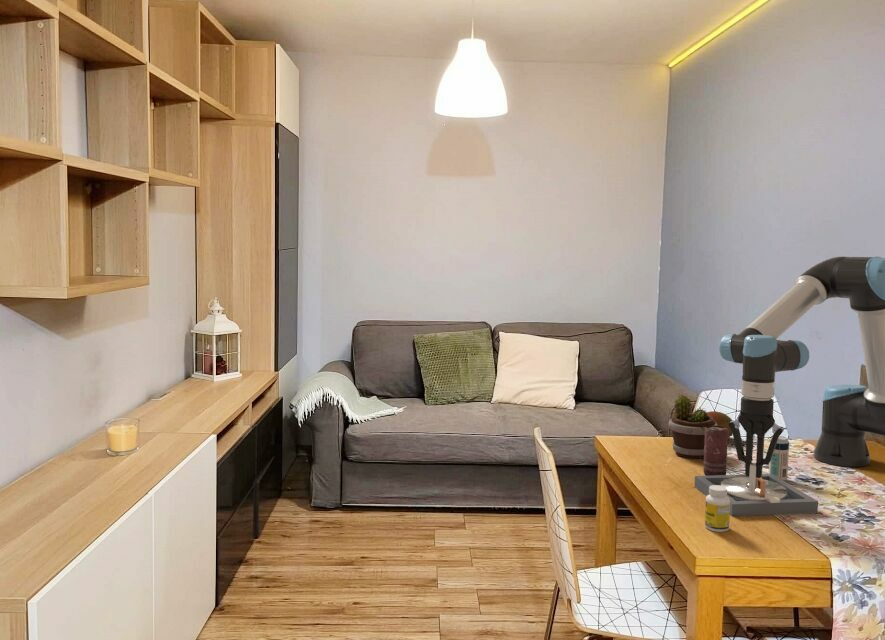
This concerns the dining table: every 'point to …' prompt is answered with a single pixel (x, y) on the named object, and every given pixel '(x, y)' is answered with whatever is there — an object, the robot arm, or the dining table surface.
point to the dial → (741, 492)
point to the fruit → (721, 420)
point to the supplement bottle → (717, 509)
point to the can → (715, 450)
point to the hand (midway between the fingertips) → (752, 489)
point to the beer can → (780, 459)
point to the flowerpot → (689, 428)
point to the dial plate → (771, 506)
